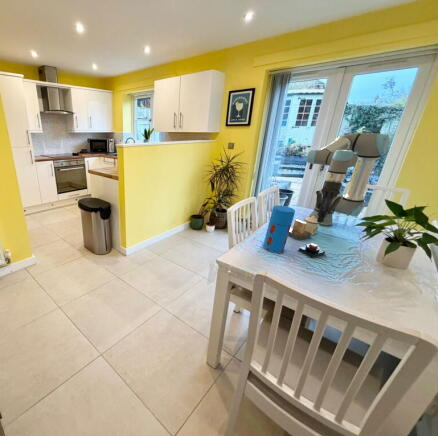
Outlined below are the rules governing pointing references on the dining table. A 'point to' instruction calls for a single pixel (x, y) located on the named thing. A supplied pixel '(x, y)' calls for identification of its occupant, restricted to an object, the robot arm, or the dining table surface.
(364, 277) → the dining table surface
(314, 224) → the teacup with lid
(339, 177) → the robot arm
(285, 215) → the thermos
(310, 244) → the button
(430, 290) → the dining table surface
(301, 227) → the tan square slab
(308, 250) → the button box
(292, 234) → the brown flat piece
